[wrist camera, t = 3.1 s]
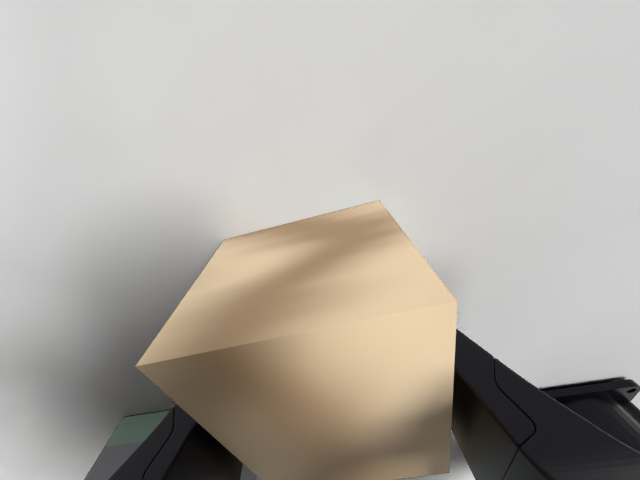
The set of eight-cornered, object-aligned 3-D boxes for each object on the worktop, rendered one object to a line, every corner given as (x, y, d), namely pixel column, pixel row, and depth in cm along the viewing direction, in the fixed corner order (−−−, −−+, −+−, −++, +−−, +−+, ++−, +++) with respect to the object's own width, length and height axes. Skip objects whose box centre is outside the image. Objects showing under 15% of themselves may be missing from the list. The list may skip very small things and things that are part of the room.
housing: (379, 200, 8) (457, 301, 4) (399, 341, 12) (448, 472, 8) (224, 239, 9) (134, 366, 4) (290, 361, 12) (277, 495, 8)
